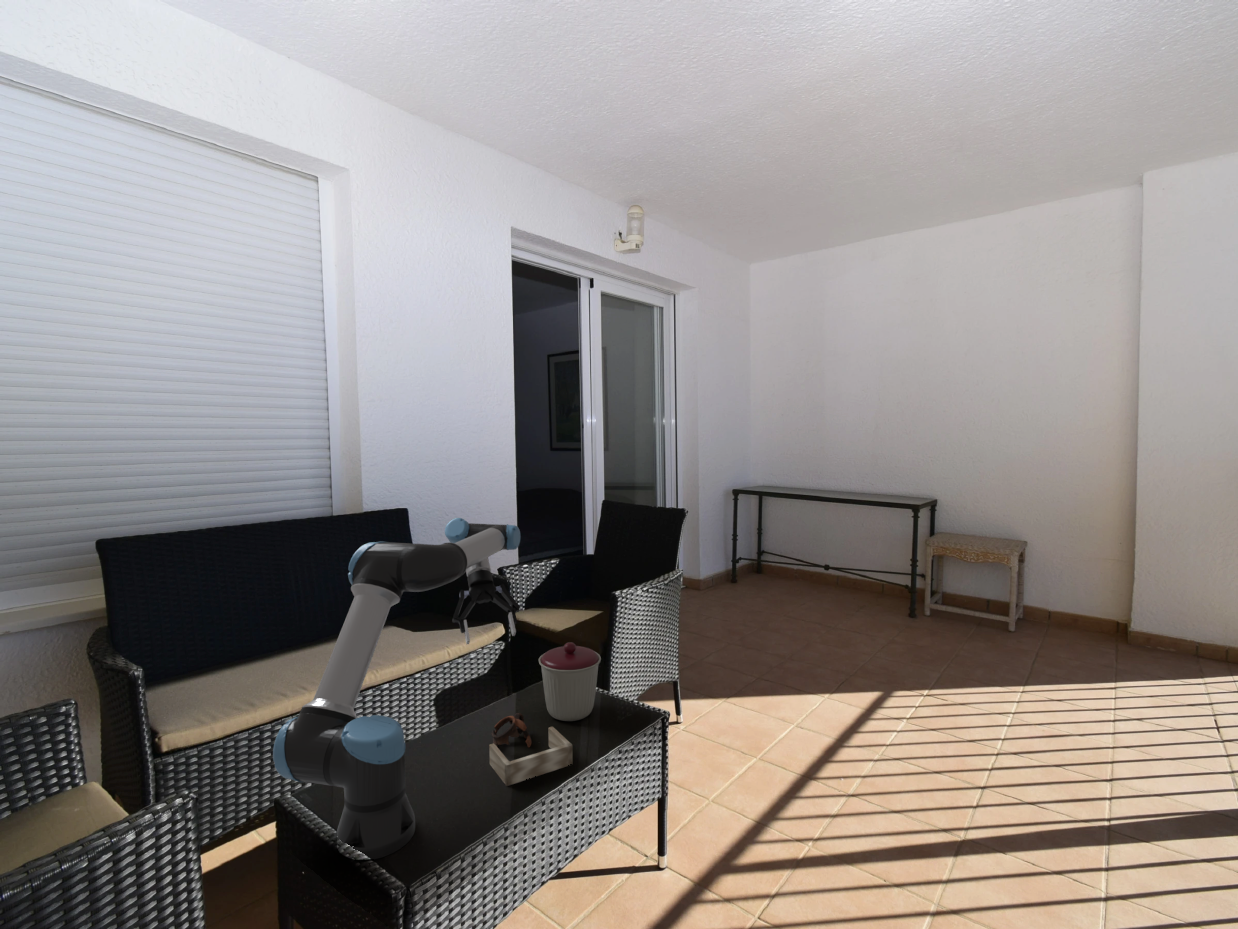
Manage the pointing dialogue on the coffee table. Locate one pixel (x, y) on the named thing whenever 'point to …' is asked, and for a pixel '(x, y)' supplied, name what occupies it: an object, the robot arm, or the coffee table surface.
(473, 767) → the coffee table surface
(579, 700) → the canister
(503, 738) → the pottery mug
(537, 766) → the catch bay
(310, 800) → the coffee table surface
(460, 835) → the coffee table surface
